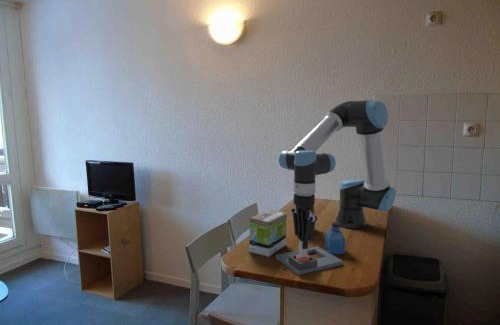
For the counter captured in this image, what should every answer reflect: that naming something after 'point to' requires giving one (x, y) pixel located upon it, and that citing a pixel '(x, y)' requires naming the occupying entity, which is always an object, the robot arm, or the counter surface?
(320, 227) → the counter surface
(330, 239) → the perfume bottle
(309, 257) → the button
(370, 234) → the counter surface
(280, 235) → the tea box
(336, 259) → the pallet plate
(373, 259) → the counter surface
